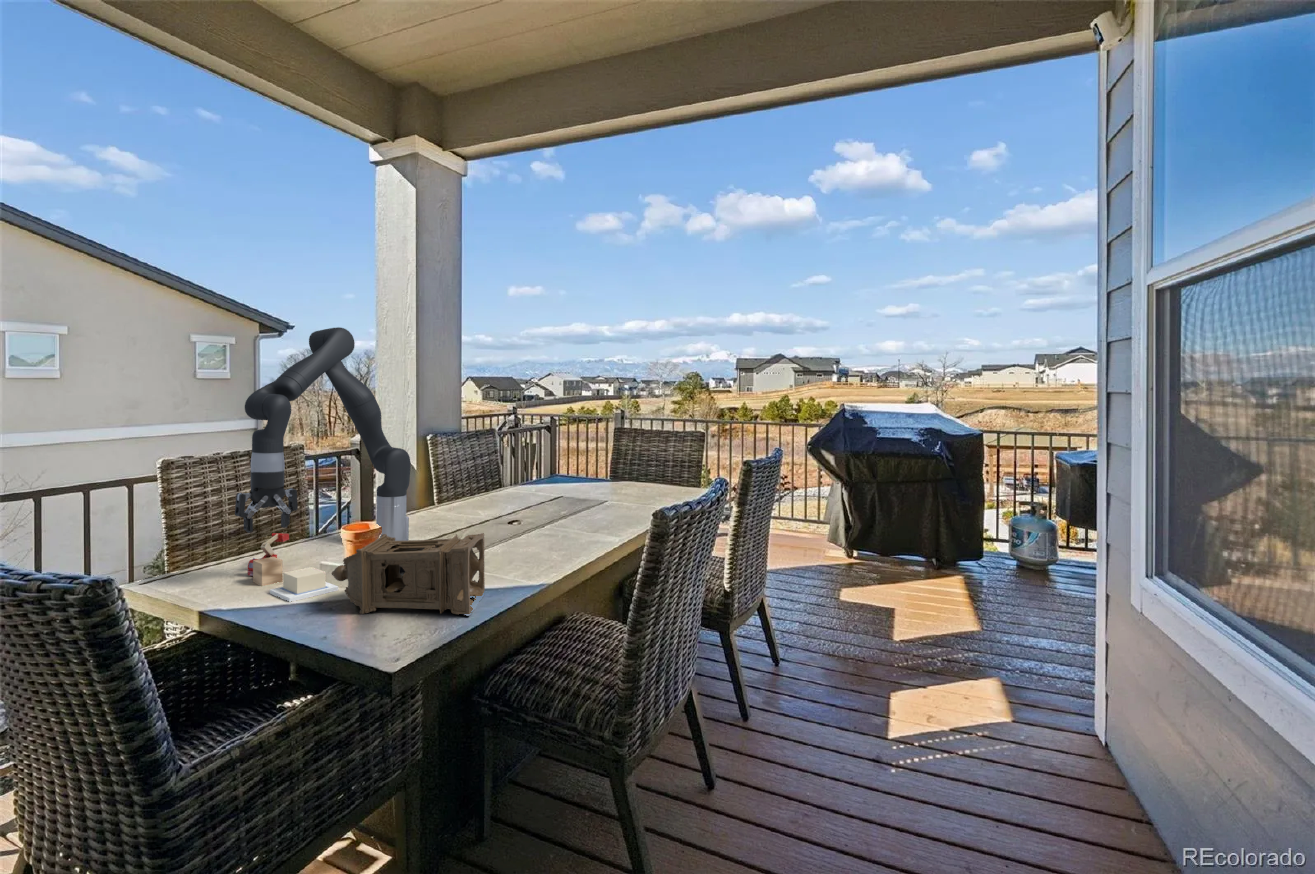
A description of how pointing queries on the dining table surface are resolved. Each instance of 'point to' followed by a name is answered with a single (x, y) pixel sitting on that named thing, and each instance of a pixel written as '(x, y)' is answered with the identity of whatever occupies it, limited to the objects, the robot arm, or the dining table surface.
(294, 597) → the board
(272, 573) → the oak block
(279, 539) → the toy fire truck
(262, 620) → the dining table surface
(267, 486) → the robot arm
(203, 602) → the dining table surface
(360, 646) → the dining table surface
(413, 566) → the brown stone lantern
